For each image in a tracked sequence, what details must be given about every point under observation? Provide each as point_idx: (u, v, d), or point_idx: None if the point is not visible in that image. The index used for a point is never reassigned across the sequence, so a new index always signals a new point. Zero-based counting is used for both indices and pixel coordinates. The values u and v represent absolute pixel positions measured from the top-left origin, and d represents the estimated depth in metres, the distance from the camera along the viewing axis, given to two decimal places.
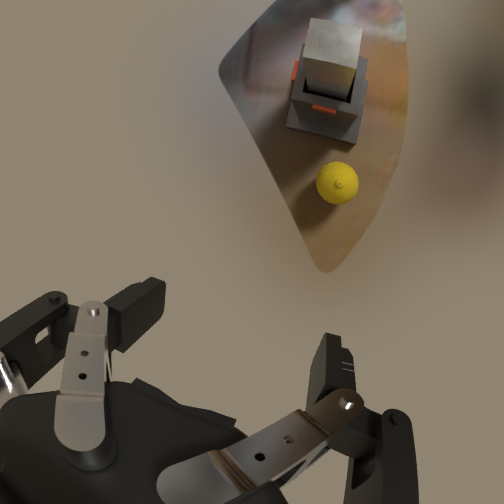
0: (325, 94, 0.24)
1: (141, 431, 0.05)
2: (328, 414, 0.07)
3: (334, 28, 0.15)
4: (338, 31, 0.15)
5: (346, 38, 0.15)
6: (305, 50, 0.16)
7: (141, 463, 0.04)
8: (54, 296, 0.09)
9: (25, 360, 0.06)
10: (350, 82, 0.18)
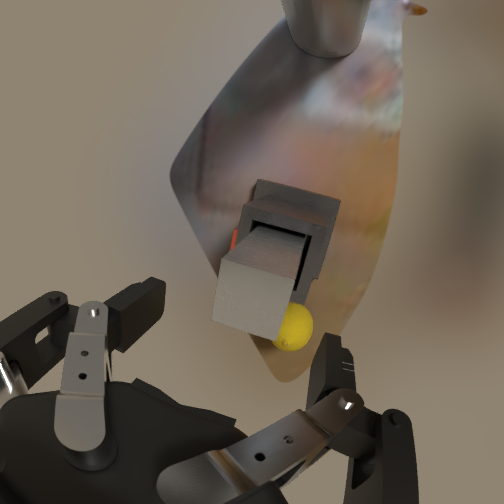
0: None
1: (141, 431, 0.05)
2: (328, 414, 0.07)
3: (252, 279, 0.15)
4: (258, 285, 0.15)
5: (268, 298, 0.15)
6: (214, 312, 0.16)
7: (141, 463, 0.04)
8: (54, 296, 0.09)
9: (25, 360, 0.06)
10: None
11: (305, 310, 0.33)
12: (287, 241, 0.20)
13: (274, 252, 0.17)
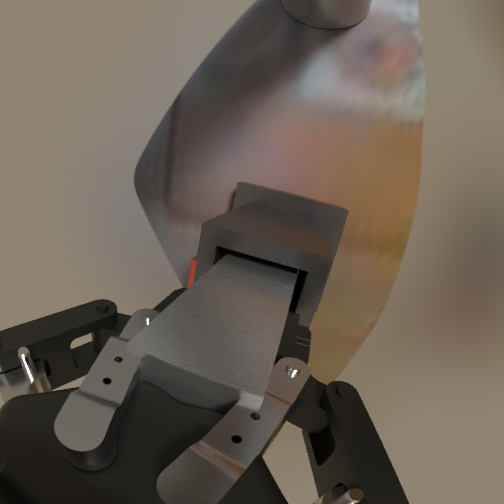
0: None
1: (141, 431, 0.05)
2: (270, 378, 0.08)
3: (184, 386, 0.07)
4: (195, 395, 0.07)
5: None
6: None
7: (141, 463, 0.04)
8: (102, 305, 0.09)
9: (55, 361, 0.07)
10: None
11: None
12: (267, 283, 0.13)
13: (238, 316, 0.10)
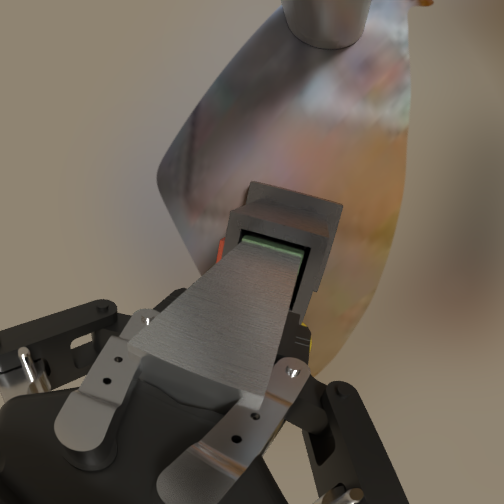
0: None
1: (141, 431, 0.05)
2: (270, 378, 0.08)
3: (184, 385, 0.07)
4: (195, 394, 0.07)
5: None
6: None
7: (141, 463, 0.04)
8: (102, 305, 0.09)
9: (56, 361, 0.07)
10: None
11: None
12: (267, 283, 0.13)
13: (238, 316, 0.10)
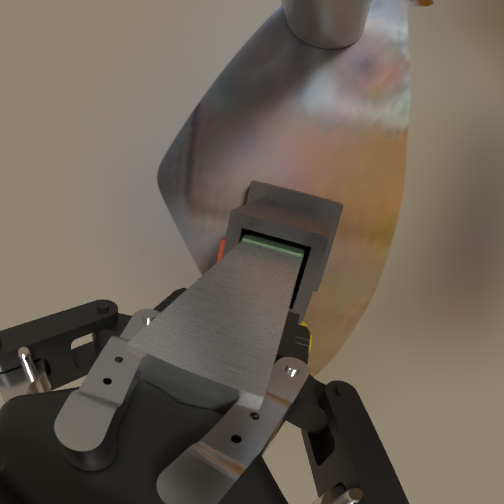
0: None
1: (141, 431, 0.05)
2: None
3: (184, 386, 0.07)
4: (195, 395, 0.07)
5: None
6: None
7: (141, 463, 0.04)
8: (102, 305, 0.09)
9: (56, 361, 0.07)
10: None
11: (303, 325, 0.30)
12: (267, 283, 0.13)
13: (238, 316, 0.10)
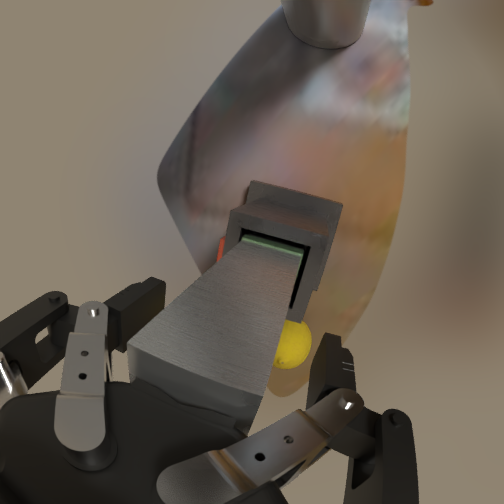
0: None
1: (140, 431, 0.05)
2: (328, 414, 0.07)
3: (183, 385, 0.07)
4: (194, 394, 0.07)
5: None
6: None
7: (141, 463, 0.04)
8: (53, 296, 0.09)
9: (25, 360, 0.06)
10: None
11: (303, 324, 0.30)
12: (266, 282, 0.13)
13: (237, 315, 0.10)
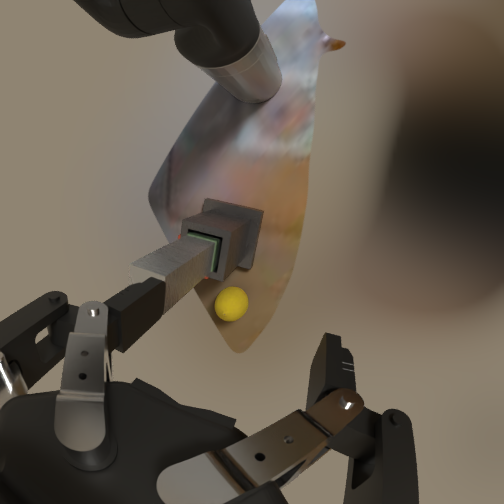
0: None
1: (141, 431, 0.05)
2: (328, 414, 0.07)
3: (145, 276, 0.23)
4: None
5: None
6: None
7: (141, 463, 0.04)
8: (54, 296, 0.09)
9: (25, 360, 0.06)
10: (178, 299, 0.27)
11: (241, 291, 0.46)
12: (187, 251, 0.29)
13: (168, 259, 0.26)
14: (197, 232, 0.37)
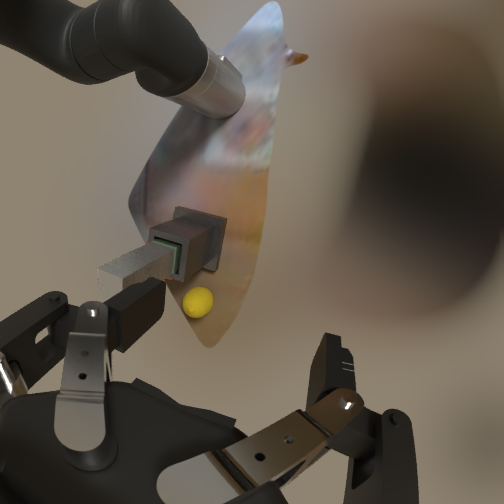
0: None
1: (140, 431, 0.05)
2: (328, 414, 0.07)
3: (108, 278, 0.28)
4: (110, 280, 0.28)
5: (115, 287, 0.28)
6: (98, 293, 0.29)
7: (141, 463, 0.04)
8: (54, 296, 0.09)
9: (25, 360, 0.06)
10: None
11: (206, 291, 0.51)
12: (147, 257, 0.34)
13: (128, 264, 0.31)
14: (162, 239, 0.41)
